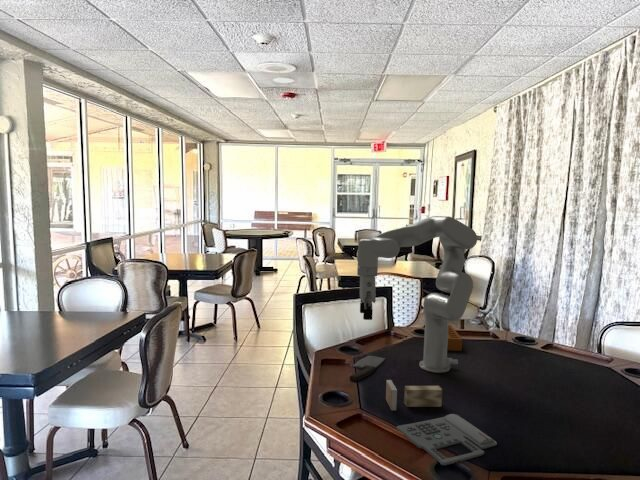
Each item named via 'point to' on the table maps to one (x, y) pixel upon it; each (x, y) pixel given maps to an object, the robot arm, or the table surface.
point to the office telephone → (447, 437)
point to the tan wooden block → (423, 396)
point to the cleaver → (366, 367)
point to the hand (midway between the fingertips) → (365, 316)
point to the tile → (391, 395)
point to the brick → (454, 340)
